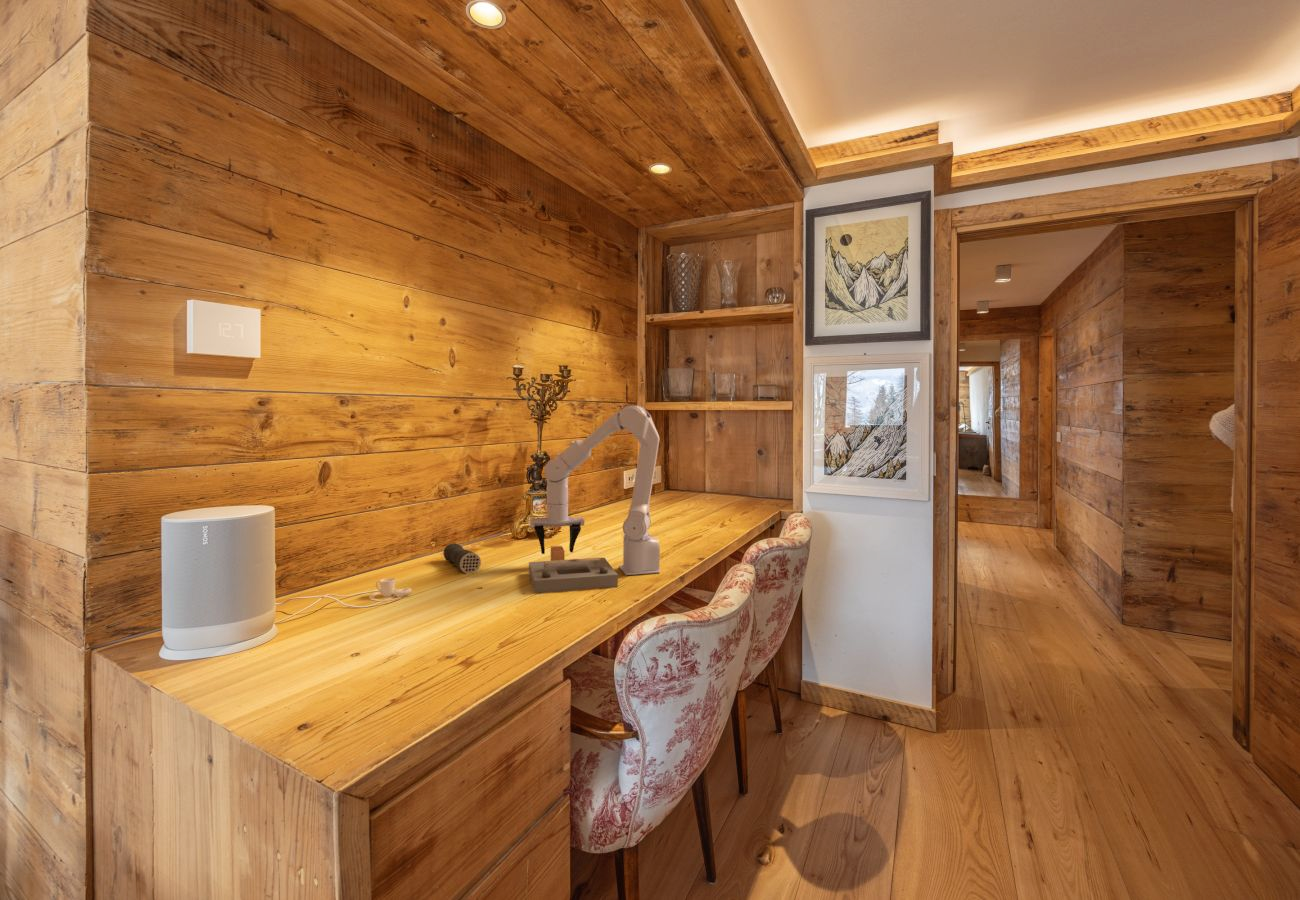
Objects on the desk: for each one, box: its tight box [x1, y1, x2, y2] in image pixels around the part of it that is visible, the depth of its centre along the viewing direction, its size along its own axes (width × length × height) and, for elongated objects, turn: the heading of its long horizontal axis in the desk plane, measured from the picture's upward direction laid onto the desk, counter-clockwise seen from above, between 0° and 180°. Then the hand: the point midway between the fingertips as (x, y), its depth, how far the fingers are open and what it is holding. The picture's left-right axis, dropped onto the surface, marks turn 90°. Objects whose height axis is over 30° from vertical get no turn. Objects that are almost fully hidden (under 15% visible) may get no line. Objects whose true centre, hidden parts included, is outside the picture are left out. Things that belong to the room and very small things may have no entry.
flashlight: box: [442, 542, 482, 575], centre depth 154 cm, size 15×5×5 cm, turn 37°
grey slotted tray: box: [528, 557, 619, 594], centre depth 143 cm, size 20×16×5 cm
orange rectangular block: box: [550, 544, 565, 561], centre depth 155 cm, size 3×6×5 cm, turn 16°
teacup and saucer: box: [368, 577, 412, 602], centre depth 130 cm, size 9×8×4 cm
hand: (557, 552), depth 155 cm, fingers open, 7 cm apart
